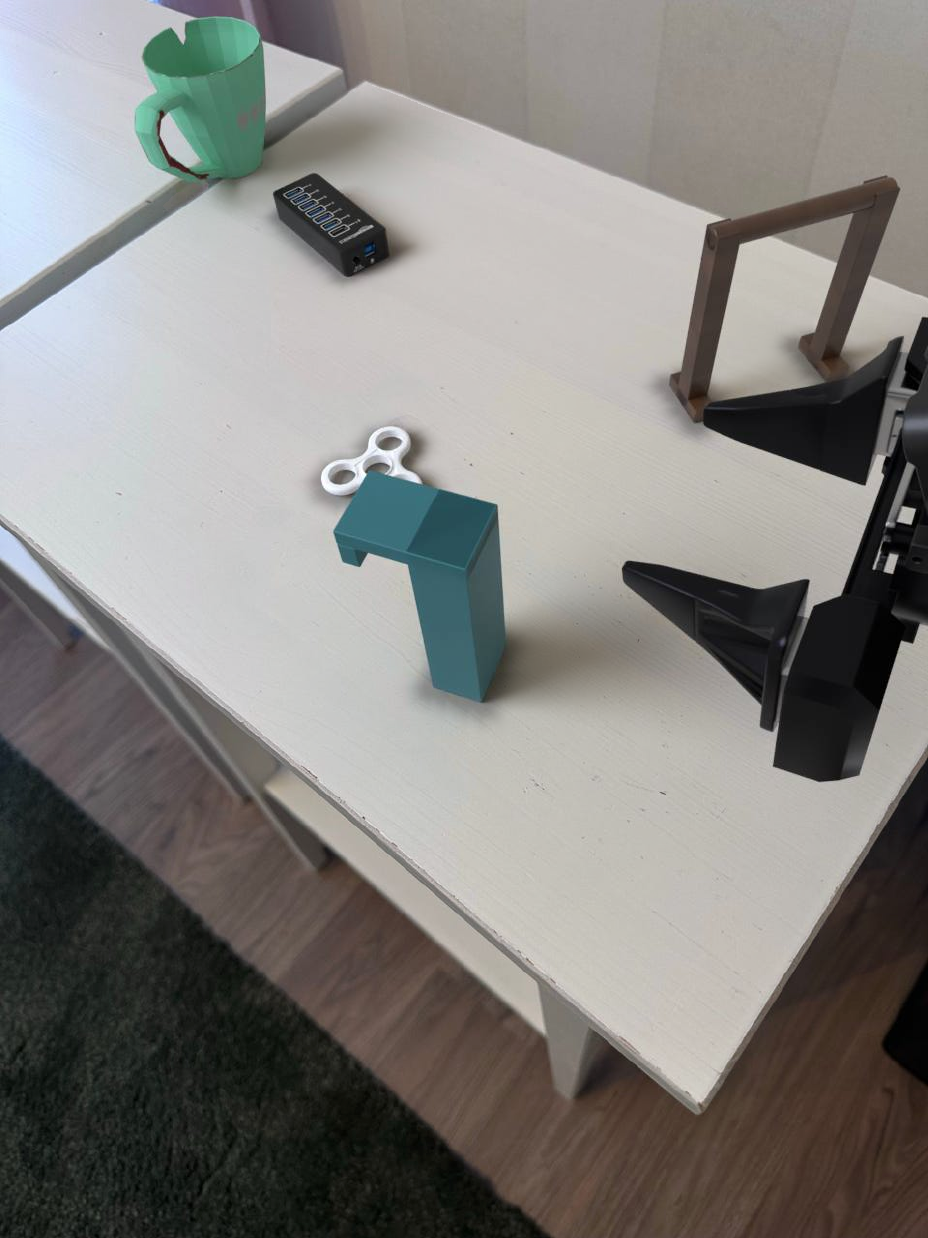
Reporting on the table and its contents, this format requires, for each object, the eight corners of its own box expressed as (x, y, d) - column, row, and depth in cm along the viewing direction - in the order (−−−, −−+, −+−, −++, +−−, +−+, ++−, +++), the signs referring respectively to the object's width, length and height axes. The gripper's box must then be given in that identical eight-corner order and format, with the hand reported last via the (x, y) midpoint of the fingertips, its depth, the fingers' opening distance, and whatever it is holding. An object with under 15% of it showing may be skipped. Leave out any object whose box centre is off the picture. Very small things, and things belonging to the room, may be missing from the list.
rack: (846, 377, 62) (914, 196, 51) (693, 423, 61) (729, 248, 50) (816, 341, 65) (875, 159, 53) (668, 384, 63) (697, 208, 52)
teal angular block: (506, 645, 53) (497, 503, 42) (481, 703, 51) (465, 570, 40) (402, 613, 55) (368, 469, 44) (375, 668, 53) (332, 531, 42)
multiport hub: (320, 195, 78) (314, 170, 76) (391, 254, 73) (387, 228, 71) (277, 216, 77) (270, 191, 75) (346, 277, 72) (341, 252, 70)
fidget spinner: (392, 425, 63) (391, 417, 62) (455, 474, 60) (454, 466, 59) (314, 481, 60) (311, 473, 60) (375, 534, 58) (373, 526, 57)
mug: (218, 125, 85) (183, 9, 77) (308, 142, 83) (282, 23, 74) (131, 215, 79) (82, 99, 70) (226, 236, 76) (187, 118, 68)
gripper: (1240, 204, 28) (745, 175, 35) (1178, 676, 20) (544, 520, 27) (1112, 460, 37) (736, 397, 44) (1032, 862, 29) (582, 709, 35)
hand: (666, 488), depth 37 cm, fingers open, 9 cm apart
